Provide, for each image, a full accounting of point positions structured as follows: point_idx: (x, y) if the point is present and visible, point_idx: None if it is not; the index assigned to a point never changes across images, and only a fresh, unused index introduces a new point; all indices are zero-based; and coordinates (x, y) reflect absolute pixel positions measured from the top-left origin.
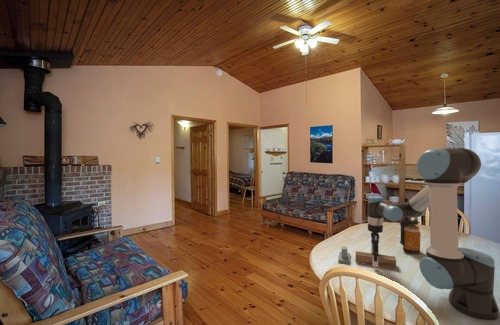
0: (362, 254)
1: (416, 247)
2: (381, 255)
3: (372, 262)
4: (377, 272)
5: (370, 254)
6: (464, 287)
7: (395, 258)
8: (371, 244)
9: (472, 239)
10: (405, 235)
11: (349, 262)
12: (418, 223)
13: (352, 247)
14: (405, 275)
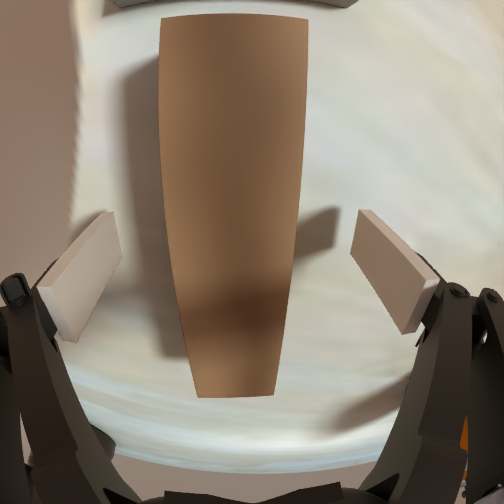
0: (196, 108)
1: None
2: (260, 327)
3: (90, 228)
4: (73, 240)
5: (244, 219)
6: (28, 460)
7: (234, 396)
8: (436, 279)
9: None
10: (466, 430)
11: (113, 2)
12: (463, 492)
13: (495, 86)
14: (140, 369)
